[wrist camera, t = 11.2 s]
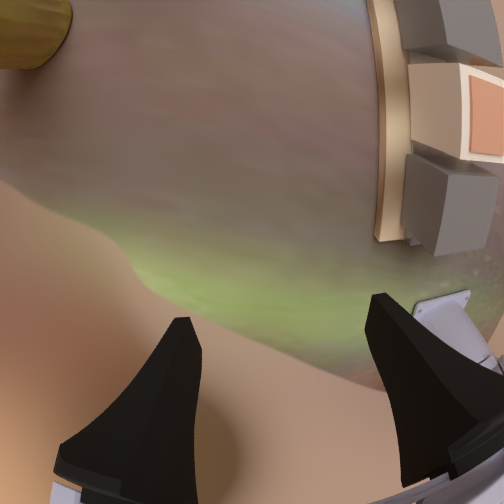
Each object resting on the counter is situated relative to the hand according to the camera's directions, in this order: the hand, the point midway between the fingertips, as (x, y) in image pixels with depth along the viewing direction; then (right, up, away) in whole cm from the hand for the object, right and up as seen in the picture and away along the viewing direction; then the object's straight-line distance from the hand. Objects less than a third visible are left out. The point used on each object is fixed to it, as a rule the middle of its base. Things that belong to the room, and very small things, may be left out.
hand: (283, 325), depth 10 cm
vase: (-16, +19, -1) cm, 25 cm away
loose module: (+11, +12, +2) cm, 17 cm away
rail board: (+11, +13, +3) cm, 17 cm away
